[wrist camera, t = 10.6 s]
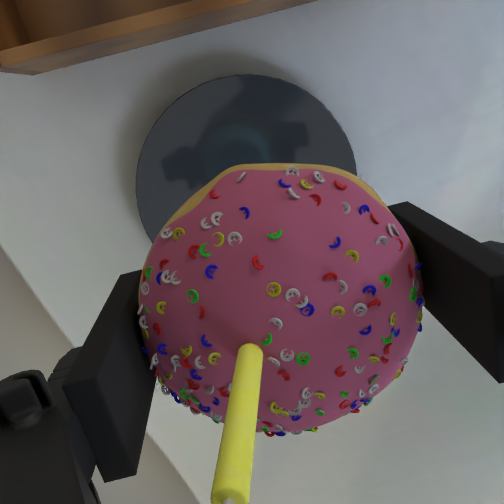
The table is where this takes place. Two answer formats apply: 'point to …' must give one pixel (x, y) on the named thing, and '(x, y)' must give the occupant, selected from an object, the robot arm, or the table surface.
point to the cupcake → (278, 305)
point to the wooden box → (107, 27)
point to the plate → (232, 139)
